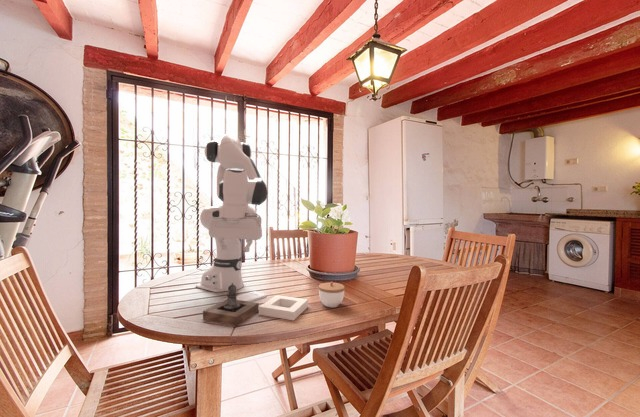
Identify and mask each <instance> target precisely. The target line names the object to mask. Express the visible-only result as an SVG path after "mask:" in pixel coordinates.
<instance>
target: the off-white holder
mask: <svg viewBox="0 0 640 417" xmlns="http://www.w3.org/2000/svg"><path fill="white" fill-rule="evenodd" d="M307 308H309V299H306V298H299V297H293V296H285V295H278V294H276V295H274V296H273V297H272V298H270V299H268V300H267V301H265V302H264V303H262V304H261V305H260V306H259V311H258V315H260V316H266V317H271V318H278V319H284V320H290V321H295V320H296V319H297V318H298V317H299V316H300V315H301V314H302V313H303V312H304V311H305V310H306V309H307Z"/></svg>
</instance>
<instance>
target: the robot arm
mask: <svg viewBox="0 0 640 417" xmlns="http://www.w3.org/2000/svg"><path fill="white" fill-rule="evenodd" d="M204 155H205V157H206V160H207V161H208V162H210V163H211V162H212V163H218V164H219V165H218V168H217V173H216V174H217V175H216V196H217V198H218V199H219V200H220V201H221V202H222V205H213V206H207V207H204V208H203V209H202V211H201V212H200V217H199V219H200V223H201V225H202V226H203V228H205V229H207V230H208V235H209V237H210V238H214V240H215V246H216V257H215V258H214V259H212V260H211V262H212V264H213V265H212V266H211V267H209V268H208V269H207V270H205V271H204V272H203V273H202V276H201V279H200V280H201V281H198V283H196V284H195V288H198V289H202V290H205V291H206V290H207V291H209V292H213V293H221V292H228V287H229V286H230V285H232V283H233V285H235V286H236V290H239V289H240V290H241V289H242V288H244V286H245V285H244V282H243V274H242V266H243V265H242V264H243V263H242V261H243V259H242V255H241V254H242V251H243V253H249V252H250V247H251V246H252V244H253V241H258V240H260V239H261V238H262V237H263V230H262V217H261V216H260V215H258V213H257V212H256V211H255V209H254V208H253V207H251V206H250V205H256V206H260V205H262V204H263V203H264V202H265V201H266V200H268V199H267V197H268V188H267V184H266V183H265V181H264V180H263V178H262V176H261V175H260V173H259V171H258V168H257V166H256V164H255V162H254V161H253V159H252V158H251V157H252V149H251V146H250V145H249V144H248V143H246V142H243V141H242V142H241V141H240V139H239V138H238V136H236V135H234V134H232V133H226V134H224V135H222V136H221V137H220V138H219V140H209V141H208V142H206V145H205V147H204ZM240 240H245V243H246V246H243V250H241V248H242V242H241V241H240Z"/></svg>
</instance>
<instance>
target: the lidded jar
mask: <svg viewBox="0 0 640 417" xmlns="http://www.w3.org/2000/svg"><path fill="white" fill-rule="evenodd" d="M345 289H346V287H345V285H344V284H342V283H339V282H333V281H330V282H324V283H323V282H322V283H320V284H319V285H318V296H319V300H320V301H321V303H322V304H323V306H324V307H327V308H337V307H339V305H340V304H341V303H342V302H343V300H344V296H345Z"/></svg>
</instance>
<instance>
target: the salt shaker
mask: <svg viewBox="0 0 640 417" xmlns="http://www.w3.org/2000/svg"><path fill="white" fill-rule="evenodd" d="M227 292H228V293H227V295H226V296H227V299H228V302H227V304H225V305H224V308H225V311H230V312H236V311H238V310H239V307H240V304H239V303H237V301H236V296H238V294H237V289H236V286H235V285H233V283H232V285H230V286H229V287H228V291H227Z"/></svg>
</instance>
